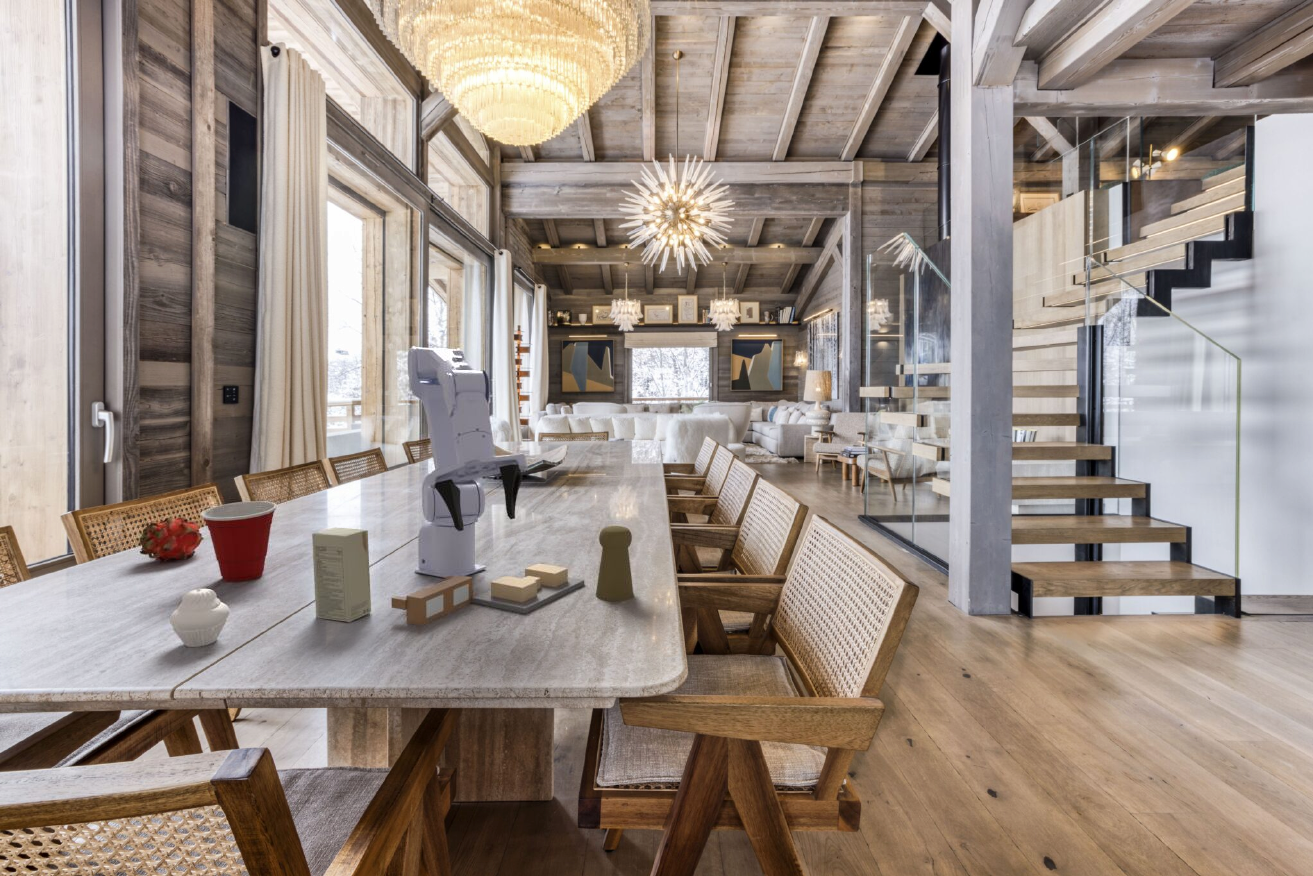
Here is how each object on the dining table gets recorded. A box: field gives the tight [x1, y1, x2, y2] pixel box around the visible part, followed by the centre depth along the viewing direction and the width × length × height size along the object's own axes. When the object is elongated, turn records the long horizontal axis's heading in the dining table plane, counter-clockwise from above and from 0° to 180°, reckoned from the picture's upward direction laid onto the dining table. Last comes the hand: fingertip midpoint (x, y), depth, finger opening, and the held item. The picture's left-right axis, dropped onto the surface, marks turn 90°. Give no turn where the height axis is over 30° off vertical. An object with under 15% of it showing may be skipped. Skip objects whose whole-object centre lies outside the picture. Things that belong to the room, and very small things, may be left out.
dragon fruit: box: [139, 516, 205, 563], centre depth 119 cm, size 8×8×12 cm
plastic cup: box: [199, 500, 278, 583], centre depth 108 cm, size 11×11×12 cm
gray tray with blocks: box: [471, 562, 585, 615], centre depth 103 cm, size 10×16×3 cm, turn 154°
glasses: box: [390, 575, 474, 627], centre depth 95 cm, size 5×12×4 cm, turn 158°
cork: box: [595, 525, 634, 602], centre depth 103 cm, size 6×6×11 cm
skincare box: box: [311, 527, 372, 623], centre depth 92 cm, size 6×4×12 cm
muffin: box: [169, 587, 230, 648], centre depth 81 cm, size 6×6×7 cm
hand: (485, 523), depth 95 cm, fingers open, 7 cm apart
